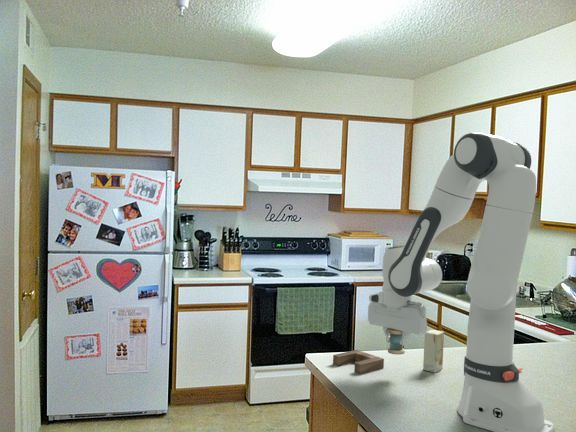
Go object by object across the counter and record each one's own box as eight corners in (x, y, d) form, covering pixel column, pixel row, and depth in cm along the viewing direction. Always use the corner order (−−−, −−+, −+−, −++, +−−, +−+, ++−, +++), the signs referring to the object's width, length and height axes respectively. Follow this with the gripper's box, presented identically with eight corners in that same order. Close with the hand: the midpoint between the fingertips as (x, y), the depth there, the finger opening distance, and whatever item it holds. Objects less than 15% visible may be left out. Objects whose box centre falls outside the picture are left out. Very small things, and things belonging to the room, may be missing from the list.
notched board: (383, 367, 170) (383, 358, 170) (360, 374, 163) (360, 364, 163) (356, 358, 179) (356, 349, 179) (332, 364, 172) (333, 355, 172)
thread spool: (407, 352, 161) (408, 329, 161) (397, 355, 158) (397, 332, 158) (394, 349, 165) (395, 326, 165) (384, 351, 162) (384, 329, 162)
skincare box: (435, 373, 167) (437, 334, 166) (422, 370, 169) (424, 332, 169) (443, 368, 172) (444, 331, 171) (430, 365, 174) (431, 328, 174)
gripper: (431, 302, 156) (431, 349, 156) (377, 293, 171) (377, 335, 171) (418, 304, 151) (418, 352, 152) (364, 295, 167) (364, 338, 167)
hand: (396, 343), depth 162 cm, fingers closed on thread spool, 4 cm apart
